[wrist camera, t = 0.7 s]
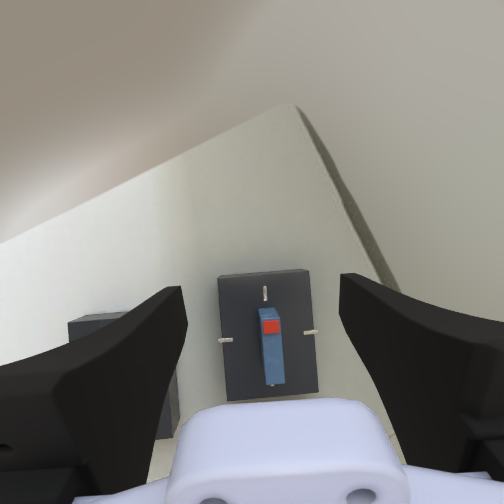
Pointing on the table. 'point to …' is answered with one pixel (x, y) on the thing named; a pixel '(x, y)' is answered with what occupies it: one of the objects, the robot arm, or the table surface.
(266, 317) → the cold tap
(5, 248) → the table surface
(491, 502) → the robot arm
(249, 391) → the panel
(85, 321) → the hot tap panel
